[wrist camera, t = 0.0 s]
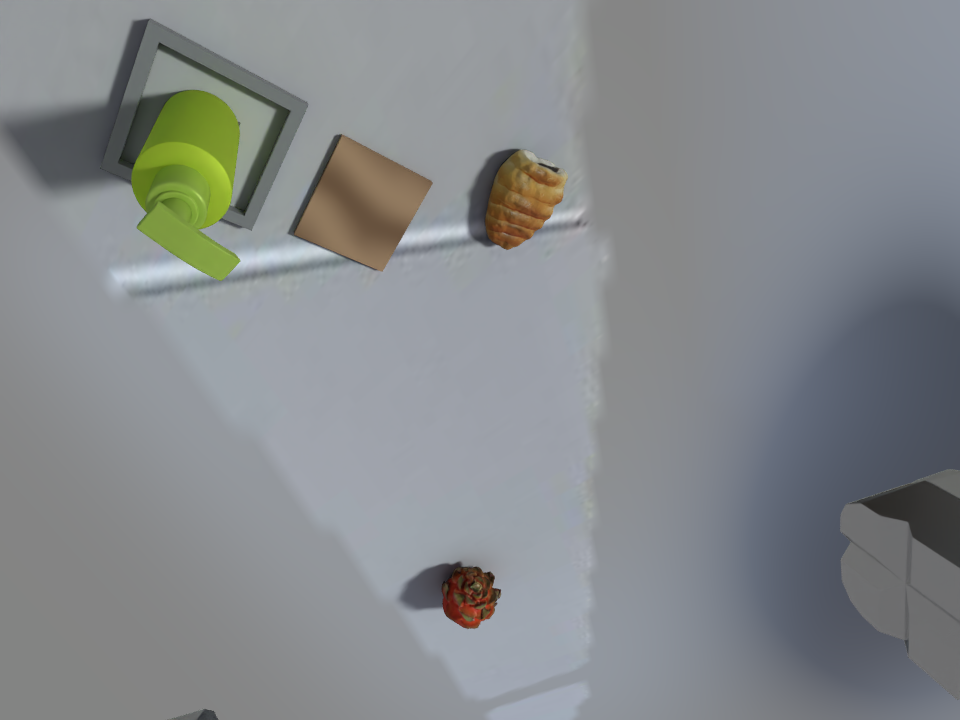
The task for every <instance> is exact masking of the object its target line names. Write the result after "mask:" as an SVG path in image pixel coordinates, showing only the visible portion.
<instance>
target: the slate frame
mask: <svg viewBox="0 0 960 720" xmlns="http://www.w3.org/2000/svg"><path fill="white" fill-rule="evenodd" d="M159 43H161V44H163V45H165V46H167V47H169V48H171V49H173V50H175V51H177V52H179V53H181V54H183V55H185V56H186V57H188V58H190V59H192V60H194V61H196V62H198V63H200V64H202V65H204V66H206V67H208V68H209V69H211V70H213V71H215V72H217V73H219V74H221V75H223V76H225V77H227V78H229V79H231V80H233V81H234V82H236V83H238V84H240V85H242V86H244V87H246V88H248V89H250V90H252V91H254V92H256V93H258V94H259V95H261V96H263V97H265V98H267V99H269V100H271V101H273V102H275V103H277V104H279V105H281V106H283V107H284V108H286V109H288V110H290V111H289V113H288V115H287V118H286V120H285V122H284V124H283V127H282V129H281V131H280V133H279V136H278V138H277V140H276V142H275V145H274V147H273V149H272V151H271V154H270V156H269V158H268V160H267V163H266V165H265V167H264V169H263V172H262V174H261V176H260V178H259V181H258V183H257V185H256V188H255V190H254V192H253V194H252V197H251V199H250V201H249V203H248V206H247V208H246V210H245V212H244V211H242V210H240V209H237V208H235V207H233V206H229V208H228V210H227V212H226V213H225V215H224V216H223V217H222V219H224V220H227V221H229V222H232V223H234V224H237V225H239V226H242V227H244V228H246V229H249V230H251V231H252V228H253V226H254V224H255V222H256V220H257V217H258V215H259V213H260V211H261V208H262V206H263V204H264V202H265V200H266V197H267V195H268V193H269V191H270V189H271V186H272V184H273V182H274V180H275V178H276V175H277V173H278V171H279V169H280V167H281V164H282V162H283V160H284V158H285V156H286V153H287V151H288V149H289V147H290V145H291V142H292V140H293V138H294V136H295V134H296V131H297V129H298V127H299V125H300V123H301V120H302V118H303V116H304V114H305V112H306V109H307V107H308V103H307V102H305V101H304V100H302V99H300V98H298V97H296V96H294V95H292V94H290V93H289V92H287V91H285V90H283V89H281V88H279V87H277V86H275V85H274V84H272V83H270V82H268V81H266V80H264V79H262V78H260V77H259V76H257V75H255V74H253V73H251V72H249V71H247V70H246V69H244V68H242V67H240V66H238V65H236V64H234V63H232V62H231V61H229V60H227V59H225V58H223V57H221V56H219V55H217V54H216V53H214V52H212V51H210V50H208V49H206V48H204V47H202V46H201V45H199V44H197V43H195V42H193V41H191V40H189V39H187V38H186V37H184V36H182V35H180V34H178V33H176V32H174V31H173V30H171V29H169V28H167V27H165V26H163V25H161V24H159V23H158V22H156V21H154V20H152V19H150V20H149V21H148V24H147V27H146V30H145V33H144V36H143V39H142V42H141V45H140V48H139V51H138V54H137V57H136V60H135V63H134V66H133V69H132V72H131V76H130V79H129V82H128V85H127V88H126V91H125V94H124V97H123V100H122V103H121V106H120V109H119V112H118V115H117V118H116V121H115V124H114V127H113V131H112V134H111V137H110V140H109V143H108V146H107V149H106V152H105V155H104V158H103V161H102V164H101V167H100V169H102V170H105V171H107V172H110V173H112V174H115V175H117V176H119V177H122V178H124V179H127V180H129V181H131V177H132V170H133V167H134V165H133V164H131V163H128V162H126V161H124V160H121V159H120V158H121V155H122V152H123V149H124V146H125V143H126V140H127V137H128V134H129V131H130V129H131V126H132V123H133V120H134V117H135V114H136V111H137V108H138V105H139V102H140V99H141V96H142V93H143V90H144V87H145V84H146V81H147V78H148V75H149V73H150V70H151V67H152V64H153V61H154V58H155V55H156V52H157V49H158V46H159ZM237 122H238V121H237ZM238 125H240V122H238Z"/></svg>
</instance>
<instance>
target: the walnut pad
mask: <svg viewBox="0 0 960 720" xmlns="http://www.w3.org/2000/svg"><path fill="white" fill-rule="evenodd" d="M431 185H432V181H430V180H428V179H426V178H424V177H423V176H421V175H419V174H417V173H415V172H413V171H411V170H409V169H407V168H405V167H403V166H401V165H400V164H398V163H396V162H394V161H392V160H390V159H388V158H386V157H384V156H382V155H380V154H379V153H377V152H375V151H373V150H371V149H369V148H367V147H365V146H363V145H361V144H359V143H357V142H356V141H354V140H352V139H350V138H348V137H346V136H344V135H341V137H340V139H339V141H338V143H337V145H336V147H335V149H334V151H333V153H332V155H331V157H330V159H329V161H328V163H327V165H326V167H325V170H324V172H323V174H322V176H321V178H320V180H319V182H318V184H317V186H316V188H315V190H314V192H313V194H312V196H311V198H310V200H309V202H308V204H307V207H306V209H305V211H304V213H303V215H302V217H301V219H300V221H299V223H298V225H297V227H296V229H295V231H294V235H296V236H298V237H301V238H303V239H305V240H308V241H310V242H313V243H315V244H317V245H320V246H322V247H324V248H327V249H329V250H332V251H334V252H336V253H339V254H341V255H344V256H346V257H348V258H351V259H353V260H355V261H358V262H360V263H363V264H365V265H367V266H370V267H372V268H374V269H377V270H379V271H383V270H384V268H385V266H386V264H387V263H388V261H389V259H390V257H391V256H392V254H393V252H394V250H395V249H396V247H397V245H398V243H399V242H400V240H401V238H402V236H403V234H404V233H405V231H406V229H407V227H408V226H409V224H410V222H411V220H412V219H413V217H414V215H415V213H416V212H417V210H418V208H419V206H420V205H421V203H422V201H423V199H424V198H425V196H426V194H427V192H428V191H429V189H430V187H431Z"/></svg>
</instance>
